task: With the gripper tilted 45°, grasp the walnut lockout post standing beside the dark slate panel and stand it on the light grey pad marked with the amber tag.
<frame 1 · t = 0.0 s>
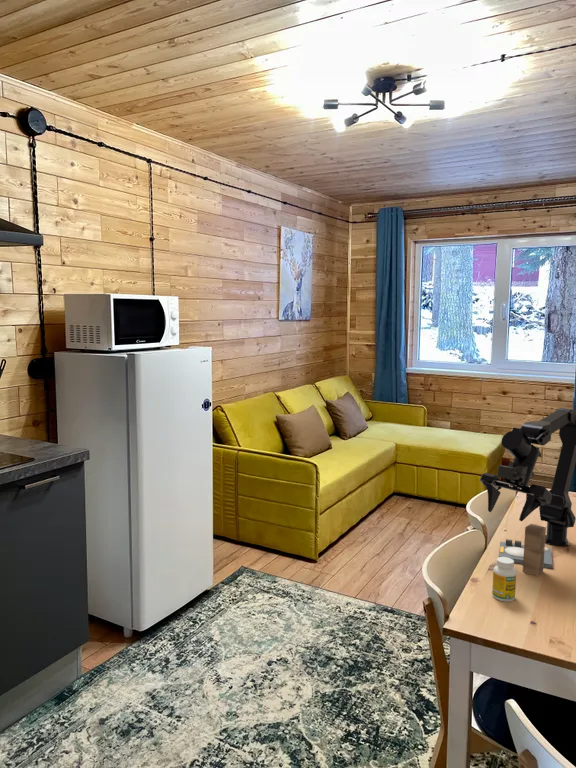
hand: (504, 516, 157), 15 cm above the table, tool tilted 35°, fingers open, 9 cm apart
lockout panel: (524, 556, 167), on the table
supplement bottle: (503, 597, 143), on the table
lockout post: (532, 571, 157), on the table
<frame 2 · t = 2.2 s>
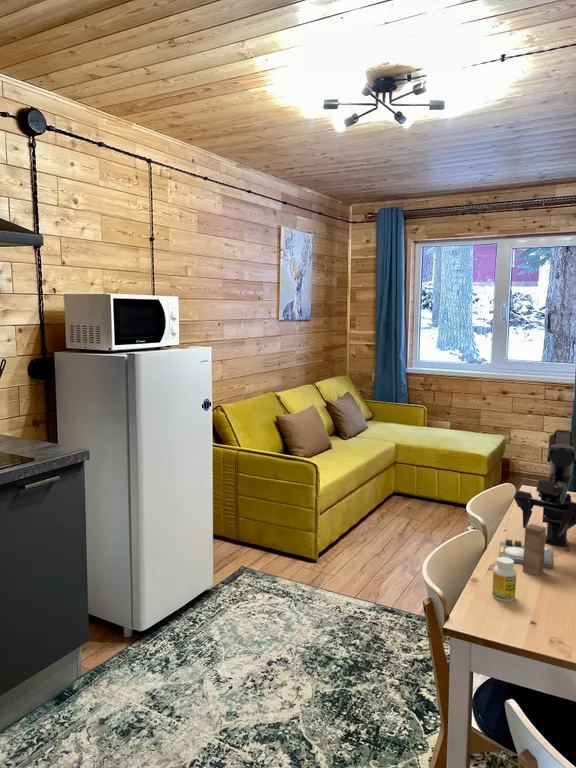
hand: (540, 531, 159), 10 cm above the table, tool tilted 45°, fingers open, 9 cm apart
nothing on the table moved.
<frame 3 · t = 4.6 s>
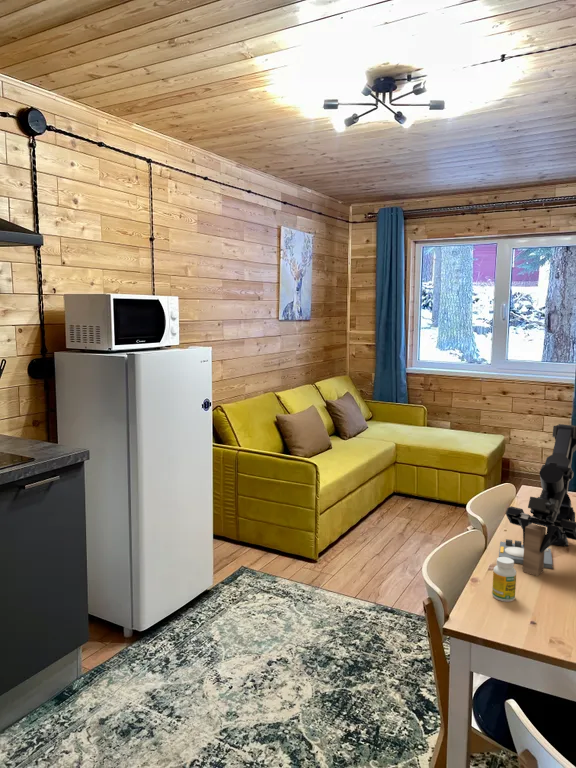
hand: (532, 549, 156), 7 cm above the table, tool tilted 45°, fingers closed on lockout post, 4 cm apart
lockout post: (532, 571, 157), on the table, touching gripper
everything else where it was.
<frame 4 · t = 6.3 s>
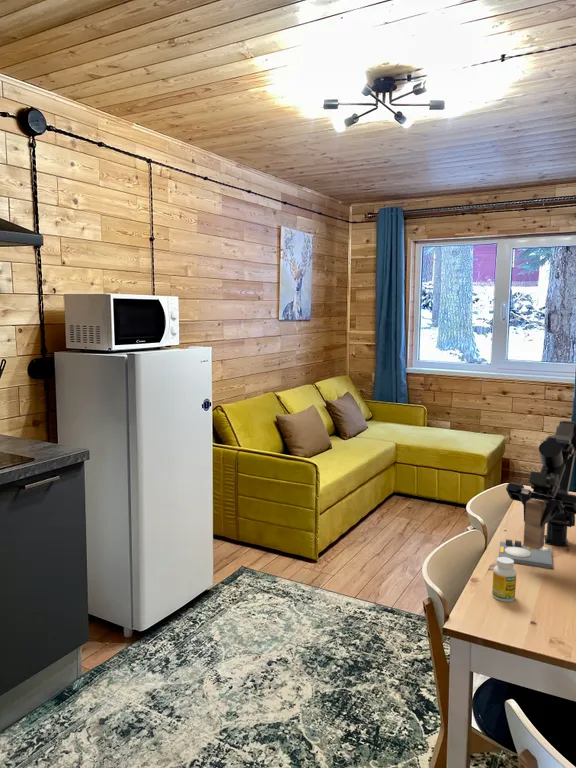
hand: (532, 523, 156), 13 cm above the table, tool tilted 45°, fingers closed on lockout post, 4 cm apart
lockout post: (533, 545, 158), point 7 cm above the table, touching gripper
everything else where it was.
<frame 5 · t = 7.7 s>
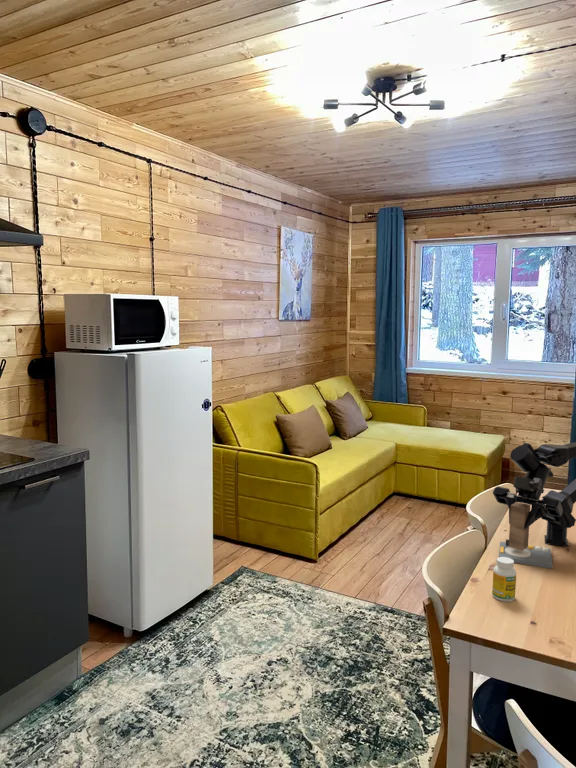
hand: (517, 526, 165), 10 cm above the table, tool tilted 45°, fingers closed on lockout post, 4 cm apart
lockout post: (518, 546, 167), point 3 cm above the table, touching gripper
everything else where it was.
when the fingers open (9 cm above the table, at t = 8.4 s): lockout post drops 1 cm, resting on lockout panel.
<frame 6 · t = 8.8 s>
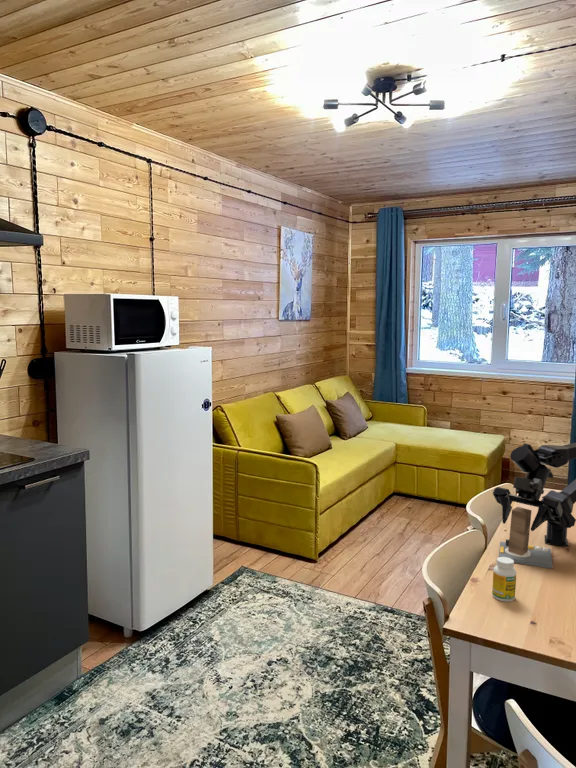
hand: (517, 526, 165), 9 cm above the table, tool tilted 45°, fingers open, 8 cm apart
lockout post: (517, 551, 167), point 2 cm above the table, touching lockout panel
everything else where it was.
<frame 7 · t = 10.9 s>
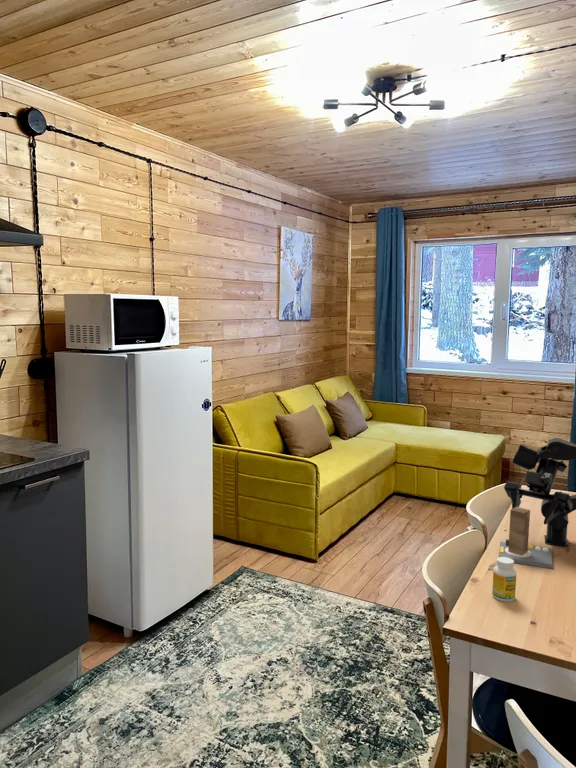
hand: (528, 519, 170), 10 cm above the table, tool tilted 45°, fingers open, 9 cm apart
nothing on the table moved.
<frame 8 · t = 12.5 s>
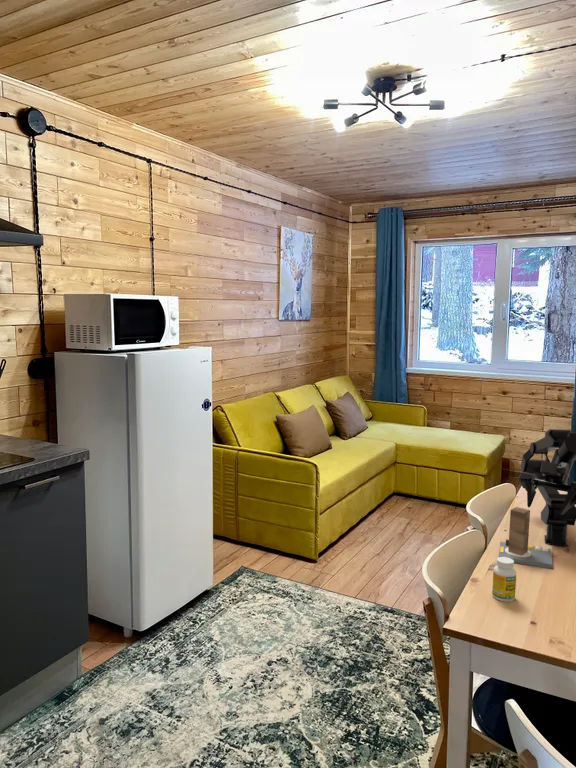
hand: (544, 510, 167), 14 cm above the table, tool tilted 45°, fingers open, 9 cm apart
nothing on the table moved.
at the end: lockout post 0.0 cm from the target spot, point 1.5 cm above the table; lockout post tilted 0°; the gripper is holding nothing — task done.
